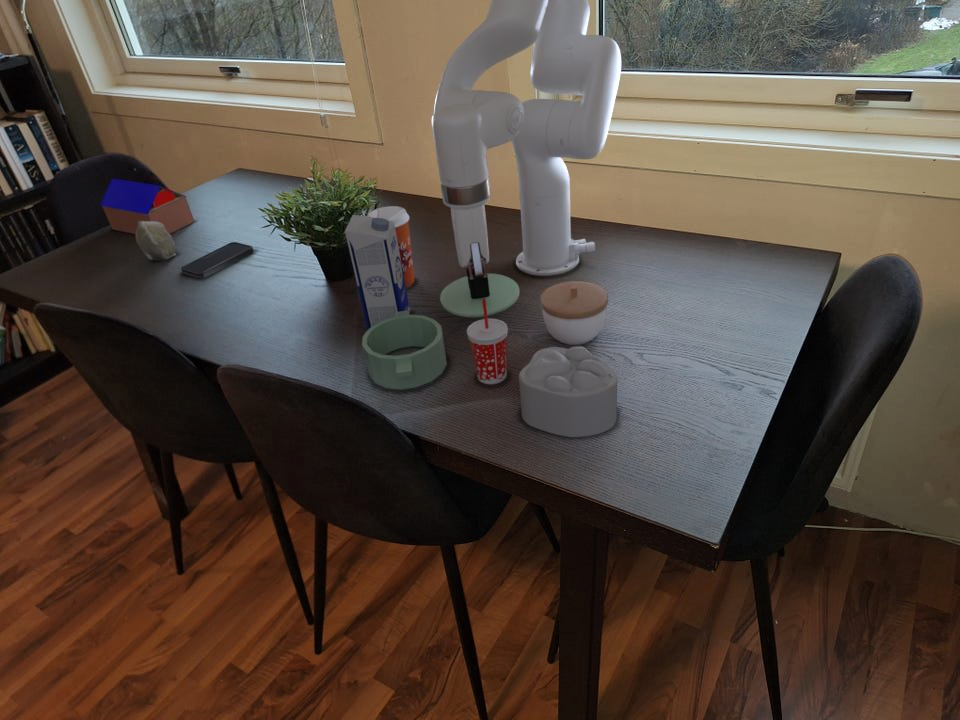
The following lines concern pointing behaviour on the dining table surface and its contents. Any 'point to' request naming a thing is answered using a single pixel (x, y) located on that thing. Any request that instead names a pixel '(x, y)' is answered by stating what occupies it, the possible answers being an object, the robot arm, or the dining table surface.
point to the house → (144, 206)
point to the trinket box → (574, 311)
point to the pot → (409, 366)
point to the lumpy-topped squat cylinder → (568, 392)
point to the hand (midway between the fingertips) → (479, 291)
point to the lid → (462, 304)
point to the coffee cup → (399, 237)
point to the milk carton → (377, 267)
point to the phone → (217, 260)
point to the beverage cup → (489, 348)
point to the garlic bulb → (155, 240)
